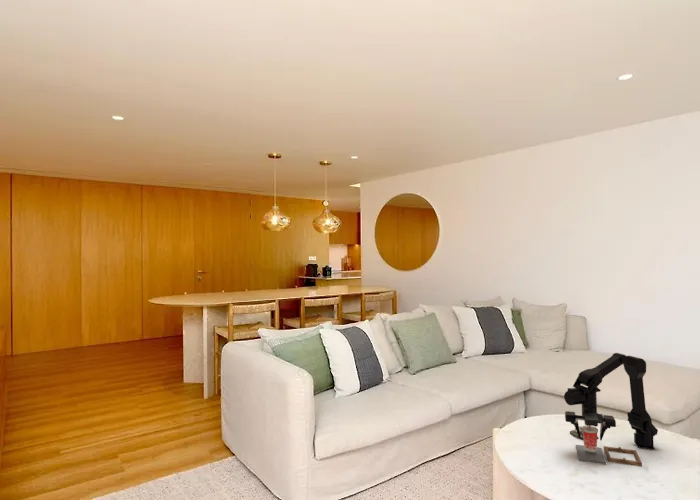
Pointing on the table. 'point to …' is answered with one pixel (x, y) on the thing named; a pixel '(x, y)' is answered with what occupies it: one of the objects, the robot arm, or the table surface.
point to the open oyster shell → (575, 434)
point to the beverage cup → (590, 438)
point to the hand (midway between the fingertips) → (590, 438)
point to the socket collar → (623, 461)
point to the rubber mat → (590, 455)
